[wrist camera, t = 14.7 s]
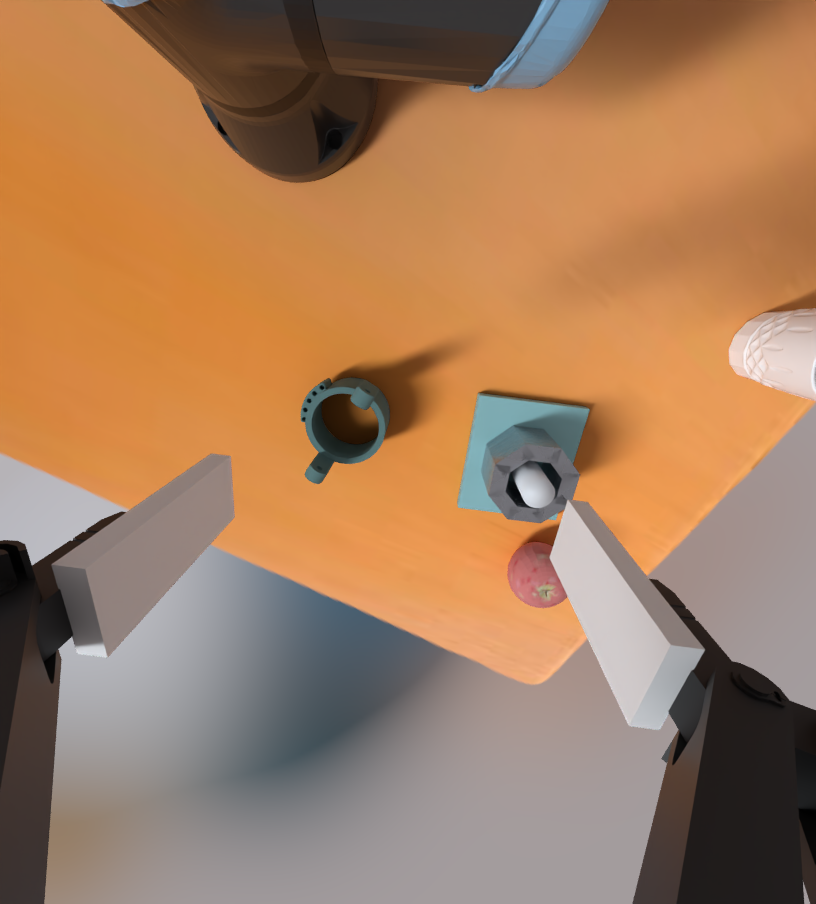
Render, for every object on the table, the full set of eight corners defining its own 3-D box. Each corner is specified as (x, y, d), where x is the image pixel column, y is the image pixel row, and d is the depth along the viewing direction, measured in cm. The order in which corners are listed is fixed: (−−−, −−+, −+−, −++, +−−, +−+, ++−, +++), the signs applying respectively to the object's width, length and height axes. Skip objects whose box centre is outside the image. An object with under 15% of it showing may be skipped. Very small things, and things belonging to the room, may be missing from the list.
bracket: (384, 369, 41) (372, 386, 33) (394, 447, 45) (386, 479, 36) (305, 378, 42) (274, 396, 34) (321, 453, 46) (297, 487, 37)
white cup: (705, 369, 40) (789, 390, 30) (754, 292, 37) (864, 289, 28) (770, 394, 40) (872, 421, 31) (823, 320, 37) (954, 326, 28)
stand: (478, 392, 42) (490, 415, 33) (585, 406, 42) (625, 433, 33) (457, 502, 47) (463, 547, 38) (552, 514, 47) (580, 562, 38)
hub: (490, 422, 42) (499, 441, 36) (566, 431, 42) (587, 451, 36) (477, 489, 45) (483, 516, 39) (547, 498, 45) (564, 526, 39)
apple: (491, 563, 50) (502, 609, 43) (521, 521, 48) (538, 562, 40) (539, 584, 51) (558, 632, 44) (571, 544, 48) (597, 588, 41)
